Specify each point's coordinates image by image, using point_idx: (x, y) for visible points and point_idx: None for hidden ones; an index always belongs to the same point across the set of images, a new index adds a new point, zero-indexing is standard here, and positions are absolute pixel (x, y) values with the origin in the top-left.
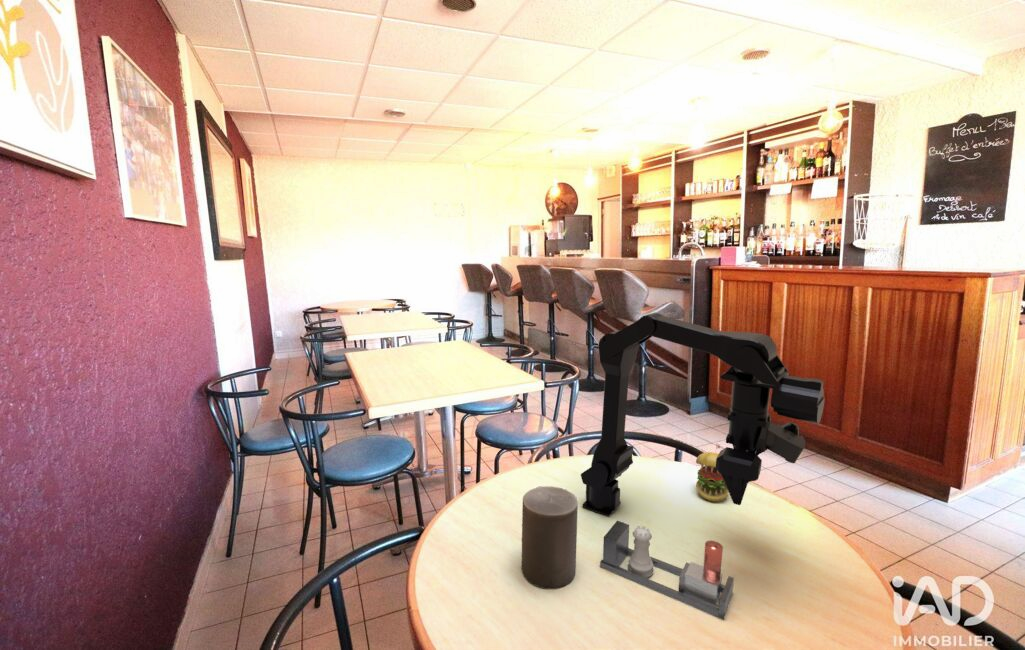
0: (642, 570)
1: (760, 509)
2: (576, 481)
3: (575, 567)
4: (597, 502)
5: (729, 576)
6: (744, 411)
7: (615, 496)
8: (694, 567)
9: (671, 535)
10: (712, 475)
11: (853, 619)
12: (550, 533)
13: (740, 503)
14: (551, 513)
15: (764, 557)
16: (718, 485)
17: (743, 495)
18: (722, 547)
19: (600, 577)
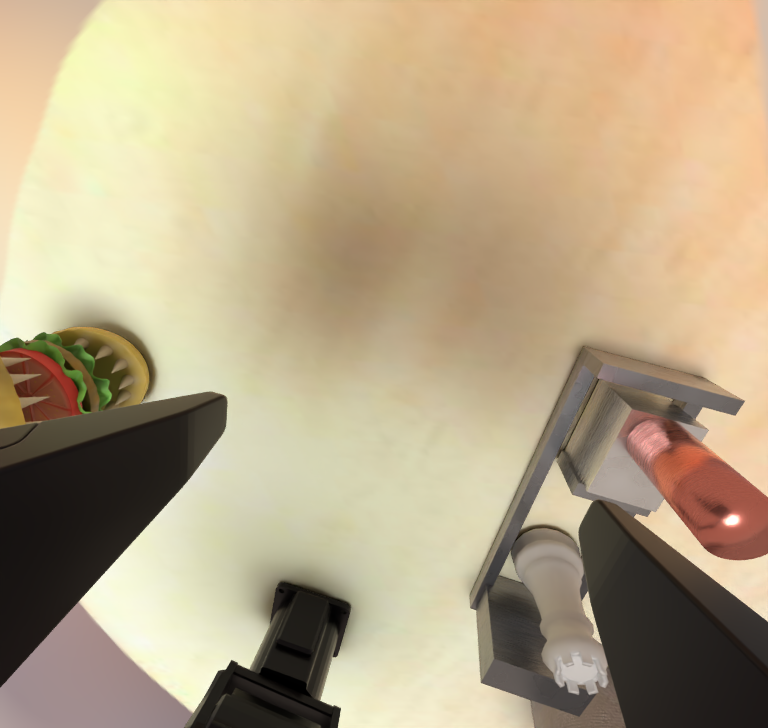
0: (582, 567)
1: (106, 220)
2: (236, 658)
3: (607, 688)
4: (333, 651)
5: (598, 375)
6: None
7: (313, 641)
8: (614, 484)
9: (367, 477)
10: (55, 402)
11: None
12: None
13: (625, 514)
14: None
15: (372, 235)
16: (90, 372)
17: (722, 587)
18: (756, 500)
19: (592, 623)
